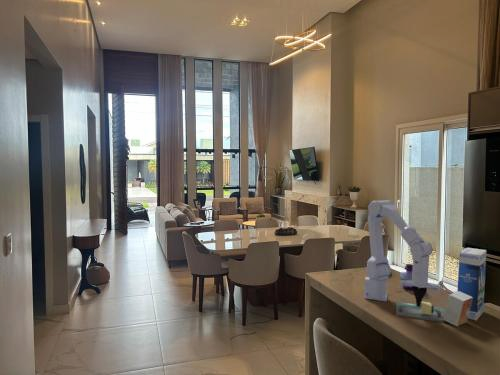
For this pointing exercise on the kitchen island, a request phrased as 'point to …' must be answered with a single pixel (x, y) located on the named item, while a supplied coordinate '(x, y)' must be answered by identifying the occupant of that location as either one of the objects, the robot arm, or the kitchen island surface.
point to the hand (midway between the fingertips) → (418, 305)
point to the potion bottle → (407, 275)
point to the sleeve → (426, 308)
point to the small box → (457, 308)
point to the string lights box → (473, 278)
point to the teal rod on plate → (419, 312)
